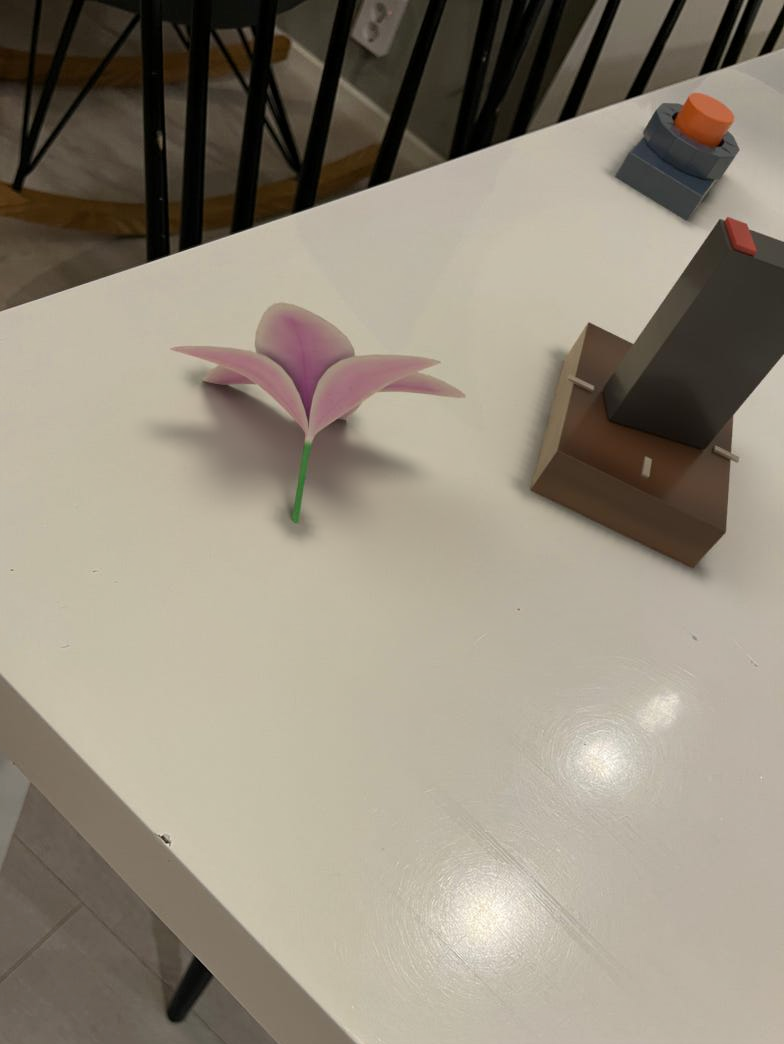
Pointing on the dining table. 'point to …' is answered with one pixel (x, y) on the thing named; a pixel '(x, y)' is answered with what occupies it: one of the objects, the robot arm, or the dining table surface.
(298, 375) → the lily
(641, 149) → the button box
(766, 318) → the open box
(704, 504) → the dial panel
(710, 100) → the button
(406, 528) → the dining table surface
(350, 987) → the dining table surface
